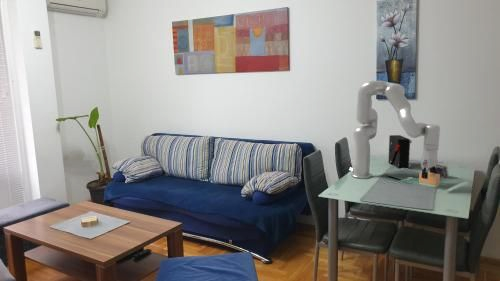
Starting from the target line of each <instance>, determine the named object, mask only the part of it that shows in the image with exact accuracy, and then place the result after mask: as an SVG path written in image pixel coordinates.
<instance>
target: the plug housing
mask: <svg viewBox="0 0 500 281" xmlns="http://www.w3.org/2000/svg"><path fill="white" fill-rule="evenodd" d="M427 172H428V178H427V179H424V178H421V176H422V171H421V172H419V174H418V178H419V182H421V183H426V184H431V185H438V184H440V182H441V175H440V174H435V173H430V171H427Z"/></svg>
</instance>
